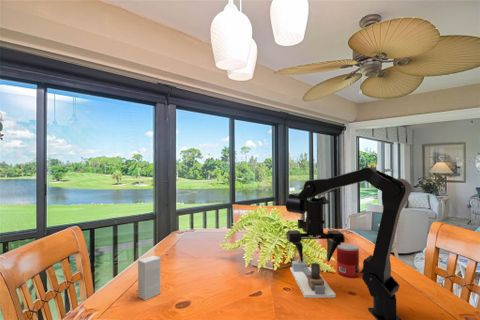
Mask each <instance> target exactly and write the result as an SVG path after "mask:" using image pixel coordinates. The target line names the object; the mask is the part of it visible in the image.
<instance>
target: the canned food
mask: <svg viewBox="0 0 480 320" xmlns="http://www.w3.org/2000/svg"><path fill="white" fill-rule="evenodd" d="M359 252H360V251H359V246H358V245H356V244H353V243H346V242H344V243H341V245H338V246H337V248H336V270H337V274H338V275H340V276H341V277H344V278H350V279H354V278H357V277H358V276H359V274H360V258H359V257H360V256H359V255H360V254H359Z"/></svg>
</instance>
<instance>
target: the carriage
mask: <svg viewBox="0 0 480 320" xmlns="http://www.w3.org/2000/svg"><path fill="white" fill-rule="evenodd" d="M310 265H311V266H310V267H311V275H307V279H308V285H309V286H310V288H311V289H312V290H314V285H321V286H324V280H325V279H324V278H323V276H322V275H321V274H320V272H321V271H320V269H321V268H320V263H317V262H311V264H310ZM320 275H321V276H322V277H321V276H320ZM322 278H323V279H324V280H323V279H322Z"/></svg>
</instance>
